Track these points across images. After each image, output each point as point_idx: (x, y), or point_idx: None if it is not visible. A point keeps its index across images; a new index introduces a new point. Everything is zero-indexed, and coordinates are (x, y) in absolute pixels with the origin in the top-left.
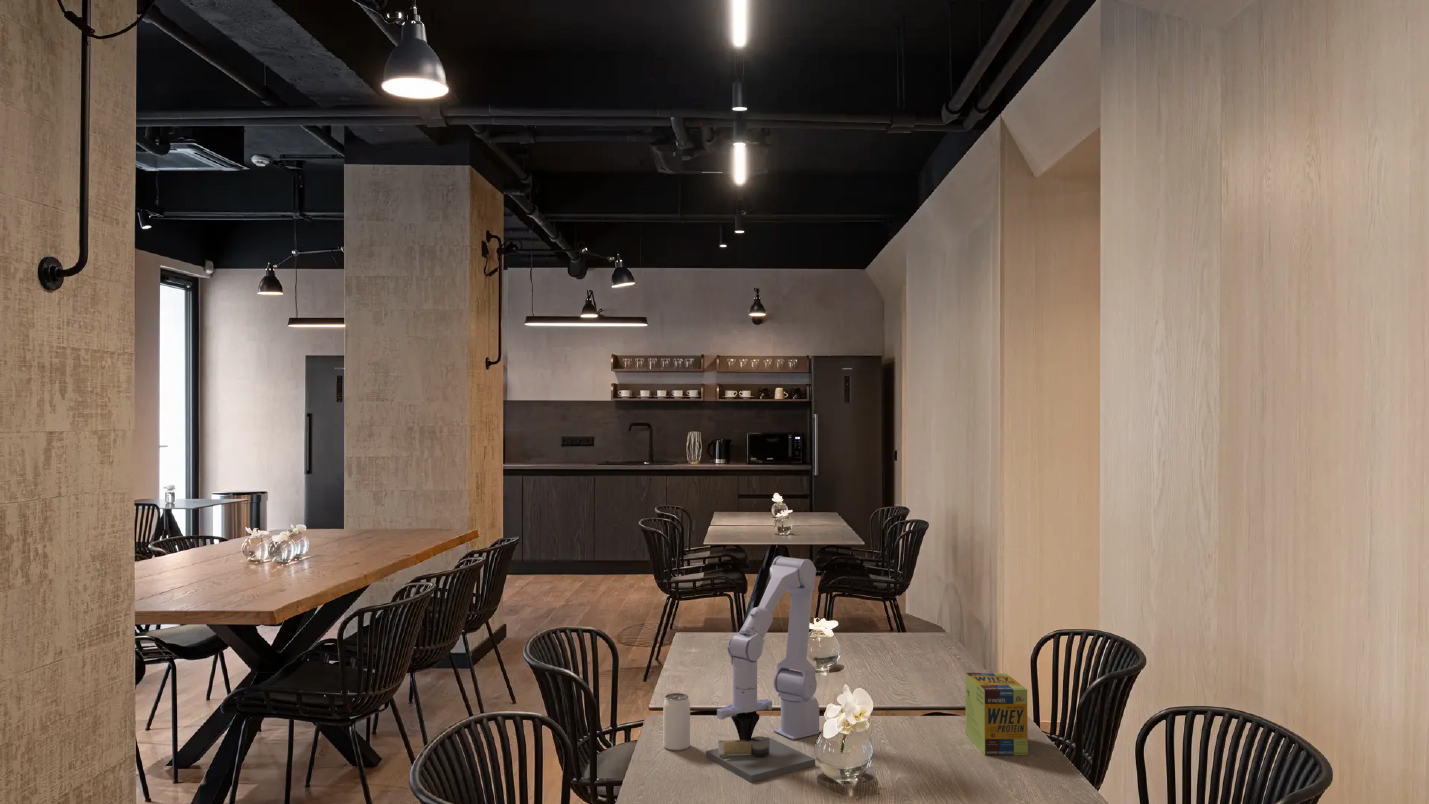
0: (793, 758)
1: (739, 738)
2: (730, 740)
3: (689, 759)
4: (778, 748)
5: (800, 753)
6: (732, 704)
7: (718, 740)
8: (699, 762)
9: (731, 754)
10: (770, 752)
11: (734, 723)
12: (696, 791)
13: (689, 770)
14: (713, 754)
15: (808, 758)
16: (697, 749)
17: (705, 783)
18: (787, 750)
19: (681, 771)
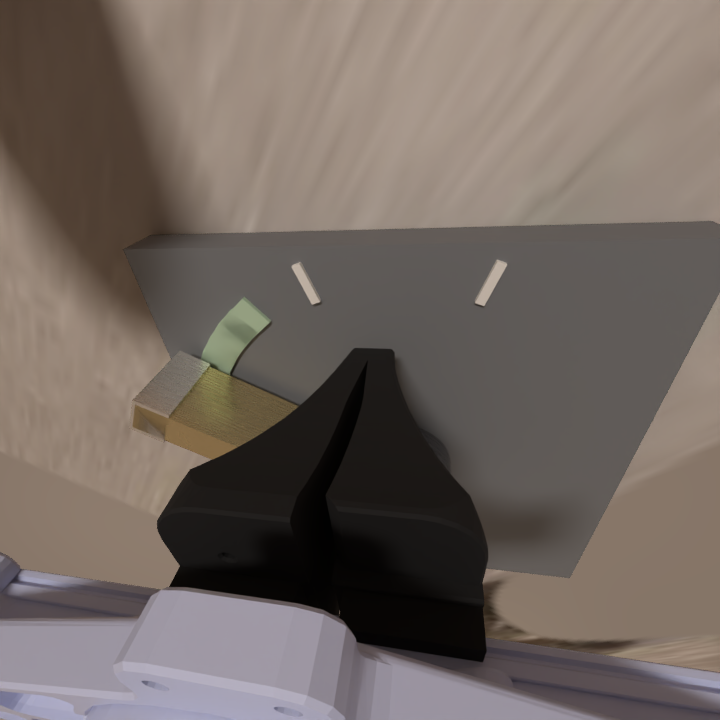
0: (501, 539)
1: (340, 366)
2: (214, 441)
3: (44, 206)
4: (557, 443)
5: (582, 527)
6: (83, 706)
7: (133, 403)
8: (103, 280)
9: (260, 377)
10: (469, 457)
11: (261, 437)
12: (73, 477)
13: (47, 338)
14: (160, 325)
15: (553, 564)
16: (110, 25)
17: (108, 455)
18: (568, 482)
19: (9, 329)
